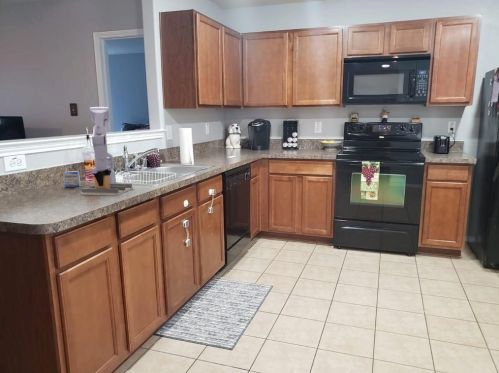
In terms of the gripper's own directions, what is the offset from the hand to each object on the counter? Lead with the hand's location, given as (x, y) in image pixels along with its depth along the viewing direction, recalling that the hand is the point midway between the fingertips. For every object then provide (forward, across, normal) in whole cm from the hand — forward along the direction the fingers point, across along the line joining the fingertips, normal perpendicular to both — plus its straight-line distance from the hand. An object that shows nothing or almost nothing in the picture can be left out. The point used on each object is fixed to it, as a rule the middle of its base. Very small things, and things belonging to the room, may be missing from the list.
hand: (103, 185), depth 197 cm
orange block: (+2, 0, 0) cm, 2 cm away
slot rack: (+4, -4, 0) cm, 5 cm away
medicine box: (+4, -16, -29) cm, 33 cm away
